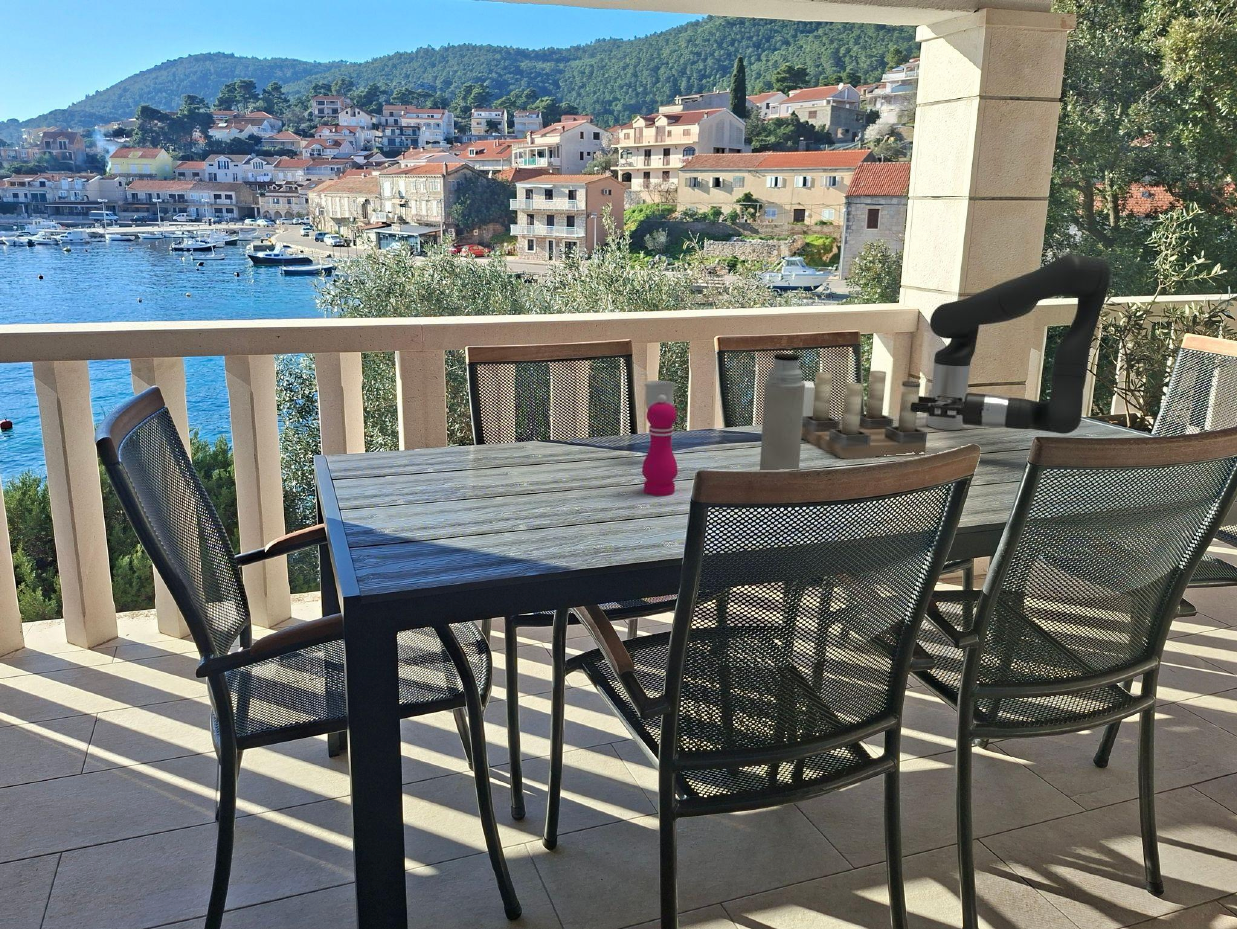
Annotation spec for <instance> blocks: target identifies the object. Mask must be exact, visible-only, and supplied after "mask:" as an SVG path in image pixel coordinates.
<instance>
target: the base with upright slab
mask: <svg viewBox="0 0 1237 929" xmlns="http://www.w3.org/2000/svg"><path fill="white" fill-rule="evenodd" d="M802 382H804V383H805V392H804V406H803V416H813V405H814V392H815V382H814V381H810V380H809V381H808V380H807V381H806V380H804V381H803V380H802Z"/></svg>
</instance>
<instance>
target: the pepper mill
mask: <svg viewBox="0 0 1237 929" xmlns="http://www.w3.org/2000/svg"><path fill="white" fill-rule="evenodd" d="M666 400H667V399H666V396H665V395H660V396H659V397H658V403H654V404H652V405H651V406H650V407H649V408H648V410H647V411H646V420H647V422H648V424H649V426H648V434H649V435H650V444H649V450H648V451H647V454H646V456H645V458H644V459H643V460H644V461H643V464H642V468H641V473H642V476H643V477H644V478H645V480H646V481H644V482H643V491H644V492H645V493H646V494H648V495H652V496H660V497H661V496H668V495H669V496H670V495H672V494H674V493H675V491H676V490H675V489H676V488H675V486H676V485H675V484H676V483H675V482H674V480H675V479H676V477H677V476H678V473H679V472H678V463H677V460H676V457H675V455H674V452H673V447H672V435H674V426H673V425H674V424H675V422H676V421H677V416H678V415H677V410H676V409H675V406H674V405H673V406H672V405H671V404H669V403H665V402H666Z"/></svg>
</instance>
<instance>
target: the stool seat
mask: <svg viewBox="0 0 1237 929" xmlns="http://www.w3.org/2000/svg"><path fill="white" fill-rule="evenodd" d="M868 376H869V378H868V387H867V388H868V389H867V398H866V399H867V400H866V412H865V413H861V412H862V402H863V401H862V400H863V389H864V388H863V387H864V384H863V383H859V382H846V383H845V384H844V396H843V397H844V398H843V409H842V418H841V419H842V420H841V421H840V420H838V419H836V418H833V417H832V416H830V408H831V407H830V406H831V397H832V396H831V395H832V382H833V381H832V380H833V373H831V372H824V371H823V372H822V371H818V372H815V381H814V386H815V392H814V405H813V416H803V420H802V434H801V440H805V441H806V442H807V443H808V442H809V443H810V444H812V445H813V446H816V447H818V448H819V449H820V450H821V449H822V450H823V451H825V452H827V453H829V454H832V455H833V456H835V455H836V456H835V457H837V458H839V457H840V458H839V459H841V458H855V457H873V458H875V457H874V456H884V455H886V456H887V455H896V454H906V453H912V452H914V453H915V454H919V453H921V452H925V454H926V445H927V438H928V432H927V431H925V430H922V429H921V428H920V429H919V428H917V427H916V428H915V432H907V433H902V432H899V431H898V426H896V425H895V426H894V418H892V417H889V416H887V415H885V414H883V410H884V402H885V401H884V400H885V399H884V398H885V388H886V379H887V378H886V377H887V371H883V370H870V371H869V375H868ZM925 454H924V455H925ZM924 455H923V456H924ZM855 459H856V458H855Z"/></svg>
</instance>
